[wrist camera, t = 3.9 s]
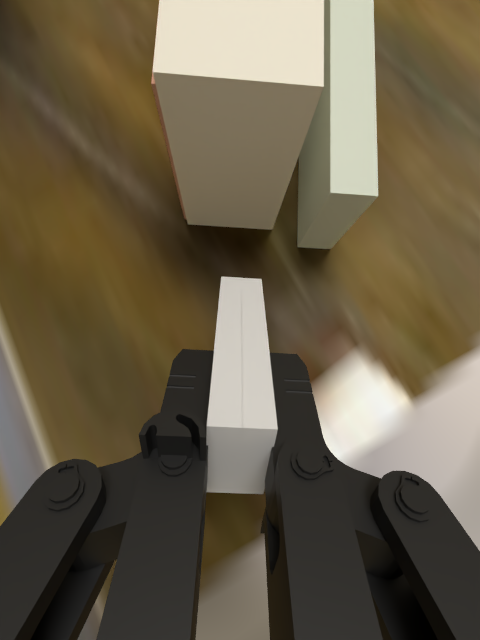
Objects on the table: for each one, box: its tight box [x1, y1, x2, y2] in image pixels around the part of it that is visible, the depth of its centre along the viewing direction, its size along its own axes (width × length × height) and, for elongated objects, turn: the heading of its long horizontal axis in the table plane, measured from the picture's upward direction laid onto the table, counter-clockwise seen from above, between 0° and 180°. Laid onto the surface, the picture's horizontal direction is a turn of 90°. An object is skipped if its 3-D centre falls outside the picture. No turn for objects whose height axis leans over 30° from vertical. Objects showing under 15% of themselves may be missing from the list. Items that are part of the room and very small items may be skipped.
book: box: [151, 0, 324, 230], centre depth 16 cm, size 13×5×10 cm, turn 178°
